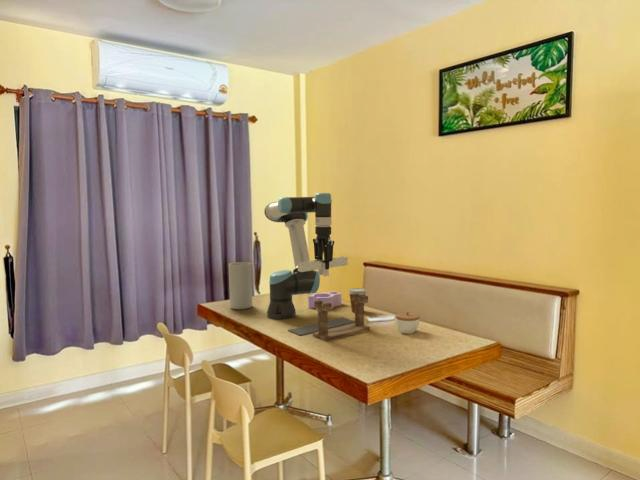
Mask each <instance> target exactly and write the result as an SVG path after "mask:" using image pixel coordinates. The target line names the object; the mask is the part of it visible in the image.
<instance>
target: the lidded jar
mask: <svg viewBox="0 0 640 480" xmlns="http://www.w3.org/2000/svg"><path fill="white" fill-rule="evenodd" d="M419 324H420V315H419V314H418V313H414V312H409V311H406V312H398V313H396V314H395V325H396V327H397V329H398V330H399V331H400V333H402V334H404V335H407V334H408V335H411V334H414V333H415V332H416V331H417V329H418V327H419Z"/></svg>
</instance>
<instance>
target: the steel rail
mask: <svg viewBox="0 0 640 480" xmlns="http://www.w3.org/2000/svg"><path fill="white" fill-rule="evenodd" d="M348 260H349V259H348V256H338V257H337V256H336V257H333V260H332V261H331V262H329V269H330V268H331V269H332V268H337V267H344V266H348V265H349V263H348ZM323 262H324V258H323V259H320V260H316V259H313V260H310V261H305V262H298V271H299V272H305V271H312V270H315V271H318V270H319V269H323Z"/></svg>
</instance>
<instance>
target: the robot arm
mask: <svg viewBox="0 0 640 480" xmlns="http://www.w3.org/2000/svg"><path fill="white" fill-rule="evenodd" d="M332 203H333V201H332V195H331V193H330V192H316V193H315V195H314V196H297V197H296V196H295V197H294V196H293V197H291V196H290V197H288V196H284V197H279V199H278V201H273V202H269V203H268V204H267V205H266V206H265V208H264V212H263V213H264V216H265V217H266V218H267V220H269V221H270V222H273V223H284V226H285V228H287V229H288V233H289V239H290V245H291V251H292V257H293V262H294V268H293V270H290V269H286V270H278V271H275V272H272V273H271V274H270V275H269V304H268V308H267V311H266V317H267V318H269V319H275V320H286V319H292V318H294V317H296V315H297V311H296V308H295V305H294V302H293V296H296V295H297V296H298V295H310V294H316V293H317V292H318V290H319V288H320V284H321V283H320V281H321V277H320V276H322V277H329V276H330V268H329V262H331V261H332V260H333V258H334V246H335V241H334V240H332V239H331V235H332V227H331V226H332ZM309 213H315V214H314V216H315V222H314V224H315V227H314V228H315V229H314V230H315V235H316V238H313V239H312V243H313V251H314V252H313V253H314V254H313V255H314V260H320V259H324V262H323V269H319V270H312V271H305V272H299V271H298V262H305V261H311V259H310V255H309V253H310V252H309V248H308V243H307V237H306V233H305V232H306V231H305V227H304V226H305V224H306V222H307V221H308V218H309V217H308V215H309Z"/></svg>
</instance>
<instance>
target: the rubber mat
mask: <svg viewBox="0 0 640 480" xmlns="http://www.w3.org/2000/svg"><path fill="white" fill-rule="evenodd" d="M351 323H355V320H353V319H351V318H347V317H343V316H342V317H339V318H332V319H328V329H331V328H335V327H339V326H343V325H347V324H351ZM287 331H288V332H290V333H292V334H294V335H297V336H305V335H310V334H313V333H314V332H318V322H317V323H312V324H308V325H304V326H298V327H294V328H291V329H290V328H289V329H287Z"/></svg>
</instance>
